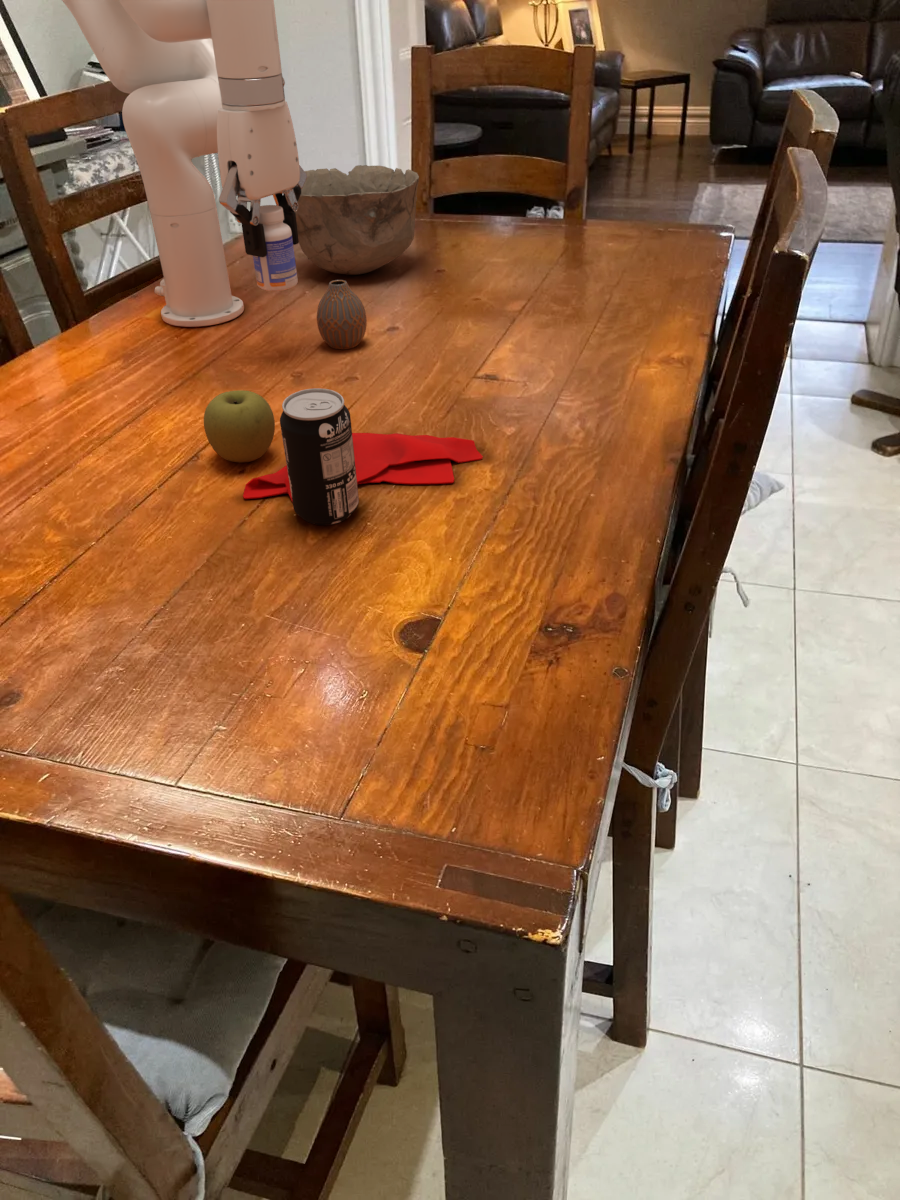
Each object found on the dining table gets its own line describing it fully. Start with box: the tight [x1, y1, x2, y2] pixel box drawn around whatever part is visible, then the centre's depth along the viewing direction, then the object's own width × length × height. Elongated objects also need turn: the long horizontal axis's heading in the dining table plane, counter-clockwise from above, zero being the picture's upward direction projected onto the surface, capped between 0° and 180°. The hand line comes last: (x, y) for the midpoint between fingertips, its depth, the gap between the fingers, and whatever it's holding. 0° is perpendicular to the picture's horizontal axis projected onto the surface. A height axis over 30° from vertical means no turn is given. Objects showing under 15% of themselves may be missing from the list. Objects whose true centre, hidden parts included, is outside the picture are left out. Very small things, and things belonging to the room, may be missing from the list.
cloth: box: [242, 432, 484, 504], centre depth 102 cm, size 26×14×2 cm, turn 99°
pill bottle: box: [252, 204, 299, 292], centre depth 122 cm, size 5×5×10 cm
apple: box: [203, 389, 276, 463], centre depth 103 cm, size 8×8×7 cm
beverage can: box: [279, 388, 360, 526], centre depth 90 cm, size 7×7×12 cm
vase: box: [316, 279, 368, 350], centre depth 130 cm, size 7×7×9 cm
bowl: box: [295, 164, 420, 276], centre depth 157 cm, size 22×22×15 cm
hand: (272, 247), depth 121 cm, fingers closed on pill bottle, 5 cm apart
